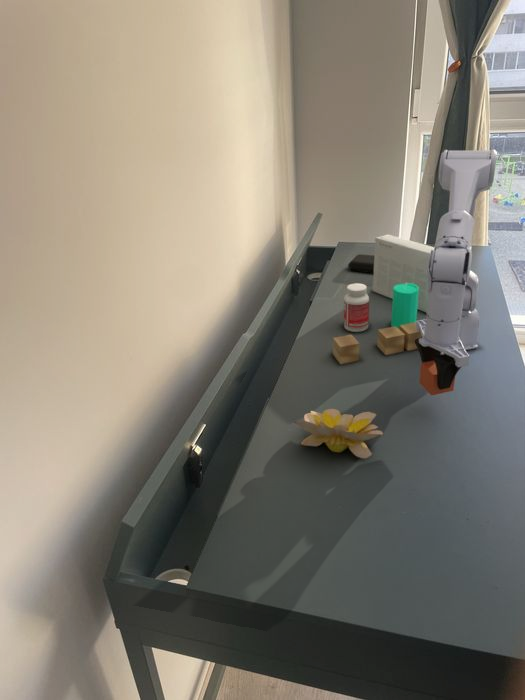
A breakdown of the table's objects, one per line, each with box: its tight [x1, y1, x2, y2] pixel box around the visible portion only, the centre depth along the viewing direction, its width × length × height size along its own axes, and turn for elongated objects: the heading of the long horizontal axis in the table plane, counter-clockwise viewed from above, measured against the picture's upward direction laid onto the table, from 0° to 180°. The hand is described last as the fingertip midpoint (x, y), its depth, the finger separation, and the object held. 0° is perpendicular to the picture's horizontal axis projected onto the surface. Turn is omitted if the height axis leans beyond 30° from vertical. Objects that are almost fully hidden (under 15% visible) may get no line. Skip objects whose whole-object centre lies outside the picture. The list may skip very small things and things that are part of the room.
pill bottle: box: [343, 282, 370, 333], centre depth 131 cm, size 6×6×11 cm
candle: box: [390, 282, 419, 329], centre depth 129 cm, size 6×6×12 cm
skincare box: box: [372, 233, 435, 314], centre depth 141 cm, size 21×5×16 cm, turn 34°
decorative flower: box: [293, 408, 384, 459], centre depth 93 cm, size 15×11×10 cm
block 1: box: [332, 334, 360, 365], centre depth 120 cm, size 4×4×4 cm
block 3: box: [399, 322, 422, 351], centre depth 123 cm, size 4×4×4 cm
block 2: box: [376, 326, 405, 356], centre depth 122 cm, size 4×4×4 cm
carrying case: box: [347, 253, 375, 274], centre depth 166 cm, size 11×3×15 cm
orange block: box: [418, 360, 456, 396], centre depth 98 cm, size 4×4×4 cm
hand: (436, 380), depth 98 cm, fingers closed on orange block, 4 cm apart
